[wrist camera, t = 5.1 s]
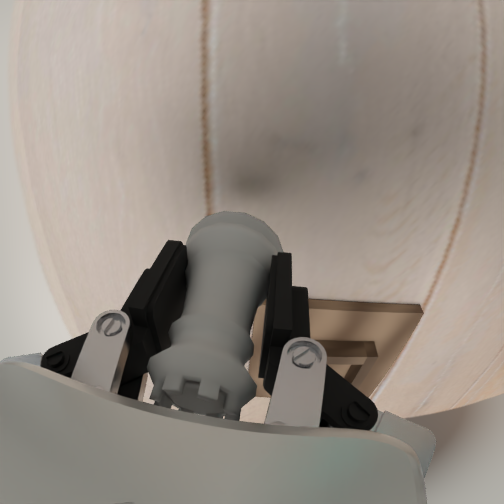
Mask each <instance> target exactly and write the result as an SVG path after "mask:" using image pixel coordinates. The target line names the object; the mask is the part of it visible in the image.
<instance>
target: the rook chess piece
mask: <svg viewBox="0 0 504 504" xmlns="http://www.w3.org/2000/svg"><path fill="white" fill-rule="evenodd" d="M186 247H187V257H188V265H187V267H186V270H185V278H186V287H187V292H186V297H185V302H184V308H183V313H182V315H181V318H179V319H178V320H176V321H175V322H173V323H172V325H171V327H170V330H169V332H168V334H169V338H170V342H171V347H170V348H168V349H166V350H164V351H162V352H160V353H158V354H156V355H154V356H152V357H150V360H149V363H148V366H147V369H148V372H149V374H150V377H151V379H152V382H153V384H154V387H153V390H152V393H151V396H150V399H152V400H155V403H154V405H157V406H161V407H165V408H169V409H171V406H172V405H174V406H175V407H177V408H179V410H178V411H183V412H188V413H193V414H199V415H205V416H209V417H215V418H222V419H223V416H225V419H228V420H235V421H239V419H240V412H241V408H242V407H243V406H244V405H245V404H247V403H248V402H249V401H250V400H251V399H253V398H254V397H255V396H256V390H257V385H256V383H255V382H254V380H253V379H252V377H251V376H250V374H249V373H248V371H247V370H246V369H245V367H244V365H245V363H247V361H248V360H249V359H250V358H251V357H252V356H253V353H254V343H253V342H252V340H251V338H250V330H251V327H252V324H253V321H254V318H255V315H256V312H257V309H258V307H259V306H261V305H262V303H263V302H264V301H265V299H266V298H267V293H268V285H269V275H270V267H271V259H272V255H277V253H278V252H283V249H282V247H281V244H280V241H279V238H278V236H277V235H276V234H275V233H274V232H273V230H272V229H271V228H270V227H269V226H268V225H267V224H266V223H265V222H264V221H261V220H259V219H257V218H255V217H253V216H251V215H249V214H247V213H241V212H229V211H223V212H219V213H216V214H213V215H210V216H206V217H205V218H203V219H202V220H201V221H200V222H199V223H198V224H197V225H195V226H194V227H193V228H192V230H191V232H190V235H189V237H188V240H187V242H186Z"/></svg>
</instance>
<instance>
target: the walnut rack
mask: <svg viewBox="0 0 504 504" xmlns="http://www.w3.org/2000/svg"><path fill="white" fill-rule="evenodd" d="M308 301H309V317H310V336H311V339H314V340H316V341H317V342H319V343H320V344H321V345H322V346H323V347H324V349H325V351H326V355H327V362H326V364H327V365H329V366H330V367H331V368H332V369H333V370H335V371H336V372H337V373H338V374H339V375H341V376H342V377H343V378H344V379H346V380H347V381H348V382H349V383H351V384H352V385H353V386H354V387H356V388H357V389H358V390H359V391H360V392H362V393H363V394H364V395H365V396H367V397H368V398H369V396H370V395H371V394H372V392H373V391H374V390H375V388H376V387H377V386H378V384H379V383H380V382H381V380H382V379H383V377H384V376H385V374H386V373H387V372H388V370H389V369H390V367H391V366H392V364H393V363H394V361H395V360H396V358H397V357H398V355H399V354H400V352H401V351H402V349H403V347H404V346H405V344H406V343H407V341H408V339H409V338H410V336H411V334H412V333H413V331H414V329H415V328H416V326H417V324H418V323H419V321H420V319H421V317H422V315H423V314H424V313H423V310H422V308H421V306H420V305H412V304H385V303H364V302H346V301H330V300H315V299H308ZM265 306H266V299H265V301H264V302H263V303H262V305H261V306H259V307H258V309H257V312H256V315H255V318H254V325H253V335H252V342H253V343H254V353H253V356H252V357H251V358H250V364H249V374H250V376H251V377H252V379H253V380H254V382H255V383H256V385H257V390H256V397H269V398H271V396H270V395H269V394H268V393H267V392H266V391H265V390H264V386H263V378H258V373H259V364H260V354H261V345H262V335H263V325H264V315H265Z"/></svg>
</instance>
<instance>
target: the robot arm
mask: <svg viewBox="0 0 504 504" xmlns="http://www.w3.org/2000/svg"><path fill="white" fill-rule="evenodd" d="M187 265H188V257H187V247H186V245H183V243H182V242H181V241H173V240H168V241H167V242H166V244H165V246H164V247H163V249H162V250H161V252H160V254H159V255H158V257H157V258H156V260H155V262H154V263H153V265H152V267H151V268H150V269H145V271H144V272H143V274H142V275H141V277H140V278H139V280H138V282H137V283H136V285H135V287H134V288H133V290H132V292H131V293H130V295H129V297H128V299H127V300H126V302H125V304H124V305H123V307H122V309H121V311H119V310H109V311H105V312H103V313H101V314H100V315H98V316H97V317H96V319H95V320H94V322H93V324H92V326H91V328H90V331H89V332H88V333H86V334H83V335H81V336H78V337H76V338H73V339H71V340H69V341H66V342H64V343H61V344H59V345H56V346H54V347H52V348H50V349H48V350H47V352H45V354H44V355H42V354H41V353H36V354H29V355H22V356H16V357H8V358H5V359H3V360H2V361H1V362H0V504H427V497H426V488H425V482H424V478H425V475H426V473H427V470H428V467H429V464H430V461H431V459H432V456H433V453H434V450H435V444H436V440H435V436H434V435H433V433H432V432H431V431H430V430H428V429H427V428H424V427H422V426H420V425H417V424H415V423H413V422H410V421H408V420H406V419H403V418H401V417H399V416H396V415H394V414H392V413H390V412H388V411H385V412H384V413H383V412H381V411H379V410H377V408H376V406H375V404H374V403H373V402H372V401H371V400H370V399H369V398H368V397H367V396H365V395H364V394H363V393H362V392H360V391H359V390H358V389H357V388H356V387H354V386H353V385H352V384H351V383H349V382H348V381H347V380H346V379H344V378H343V377H342V376H341V375H339V374H338V373H337V372H336V371H335V370H333V369H332V368H331V367H330V366H329V365H327V364H326V362H327V355H326V351H325V349H324V347H323V346H322V345H321V344H320V343H319V342H317V341H316V340H314V339H311V336H310V317H309V301H308V289H307V288H306V287H296V286H292V256H291V253H285V252H278V253H277V255H272V259H271V267H270V275H269V285H268V293H267V298H266V306H265V315H264V325H263V335H262V345H261V354H260V364H259V373H258V378H263V386H264V390H265V391H266V392H267V393H268V394H269V395H270V396H271V399H270V403H269V407H268V411H267V414H266V418H265V422H264V424H261V423H251V422H243V421H235V420H228V419H222V418H215V417H209V416H204V415H198V414H193V413H188V412H183V411H178V410H174V409H169V408H165V407H161V406H157V405H153V404H149V403H145V402H143V397H144V392H145V387H146V382H147V377H148V369H147V366H148V363H149V360H150V357H152V356H154V355H156V354H158V353H160V352H162V351H164V350H166V349H168V348H170V347H171V342H170V338H169V334H168V332H169V330H170V327H171V325H172V323H173V322H175V321H176V320H178V319H179V318H181V315H182V313H183V308H184V302H185V297H186V292H187V287H186V278H185V270H186V267H187Z"/></svg>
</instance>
